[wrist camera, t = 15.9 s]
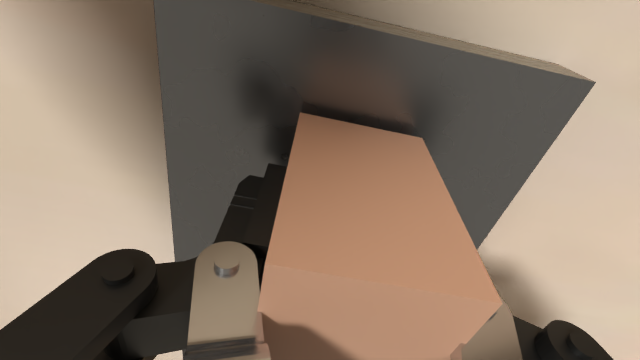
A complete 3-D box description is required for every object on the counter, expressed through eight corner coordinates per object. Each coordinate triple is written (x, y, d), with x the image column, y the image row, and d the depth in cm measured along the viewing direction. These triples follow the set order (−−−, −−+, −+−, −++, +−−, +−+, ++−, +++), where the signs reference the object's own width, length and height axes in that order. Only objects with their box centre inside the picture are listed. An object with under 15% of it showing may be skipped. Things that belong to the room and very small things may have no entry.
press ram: (299, 112, 10) (264, 263, 5) (422, 138, 10) (502, 303, 5) (278, 227, 13) (243, 396, 8) (375, 244, 13) (399, 417, 8)
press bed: (181, -26, 10) (146, -23, 8) (557, 64, 11) (603, 85, 9) (195, 350, 24) (183, 385, 22) (364, 375, 25) (367, 409, 23)
